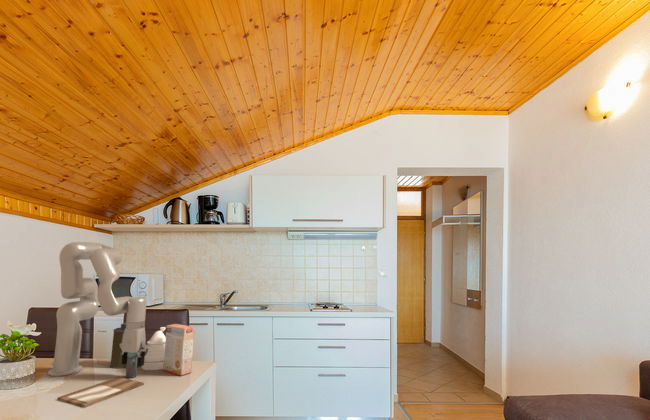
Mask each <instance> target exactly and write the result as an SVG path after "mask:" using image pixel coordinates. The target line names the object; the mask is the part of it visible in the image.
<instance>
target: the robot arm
mask: <svg viewBox="0 0 650 420" xmlns="http://www.w3.org/2000/svg"><path fill="white" fill-rule="evenodd" d="M79 260H84V261H85V260H87V261H88V260H90V262H91V265H92V267H93V269H94V271H95V273H96V276H97V278H98V281H99V285H98V283H97V281H96V280H95V279H94V278H91V277H84V269H83V267H82V266H83V265H82V264H81V263H80V261H79ZM122 260H123V255H122V253H121V252H120V250H119V249H117V248H114V247H111V246H109V245H106V244H103V243H98V242H86V241H73V242H70V243H67V244H65V245H64V246H63V247H62V249H60V252H59V265H60V295H61V297H62V298H63V299H67V300H72V299H74V300H75V299H79V300H77V301H76V300H75V301H68V302H66V303H64V304H62V305H61V306H59V307H58V309H57V311H56V325H57V328H56V329H57V330H56V339H55V341H56V342H55V349H54V357H53V362H51V364H50V365H51V366H52V369H49V370H48V373H47V374H48V376H50V377H51V376H52V377H63V376H69V375H73V374H77V373H79V372H81V371H82V370H83V366H82V365H81V364H79V363H80V355H81V347H82V338H83V336H82V335H83V329H82V325H81V324H80V322H81V321H85V320H90V319H92V318H94V317H95V316H96V315H97V313H98V312H99V311H98V310H99V305H100V308H101V310H102V311H103V313H104V314H105V315H107V316H112V317H113V316H117V315H118V316H119V315H122V314H126V321H125V323H126V329H125V330H124V334H123V339H122V343H121V344H120V348H121V349H120V350H121V352H122V353H121V355H122V364H126V363H127V354H128V353H137V355H138V358H137V368H141V367H142V366H143V365H144V357H145V356H146V354H147V351H148V349H149V347H148V346H147V345H148V344H147V343H146V339H147V338H146V328H145V327H146V325H145V324H146V312H147V298H145V297H134V296H128V295H127V296H120V297H119V296H118V297H116V296H115V295H114V293H113V290H112V285H113V283H114V282H115V281H117V280H119V278H120V277H121V273H120V270H119V269H118V266H117V265H119V264H121V262H122Z"/></svg>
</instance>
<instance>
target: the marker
mask: <svg viewBox="0 0 650 420" xmlns="http://www.w3.org/2000/svg"><path fill="white" fill-rule="evenodd" d="M137 358H138V355H137V353H128V354H127V367H126V371H125V379H126V378H127V379H129V380H131V379H134V378H136V377H137V371H138V370H137V369H138V367H137ZM130 378H131V379H130Z"/></svg>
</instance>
